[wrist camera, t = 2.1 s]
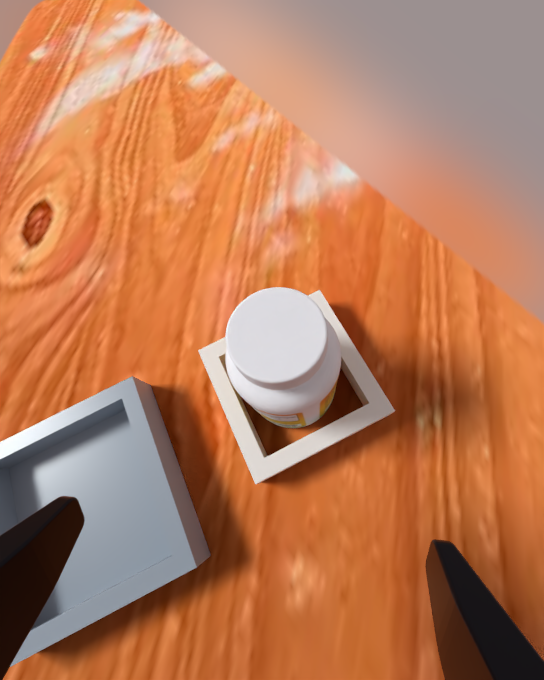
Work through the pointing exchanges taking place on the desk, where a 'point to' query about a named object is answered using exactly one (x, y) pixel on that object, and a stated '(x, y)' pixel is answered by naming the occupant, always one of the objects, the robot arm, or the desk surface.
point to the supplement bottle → (283, 356)
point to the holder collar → (315, 442)
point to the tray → (103, 505)
